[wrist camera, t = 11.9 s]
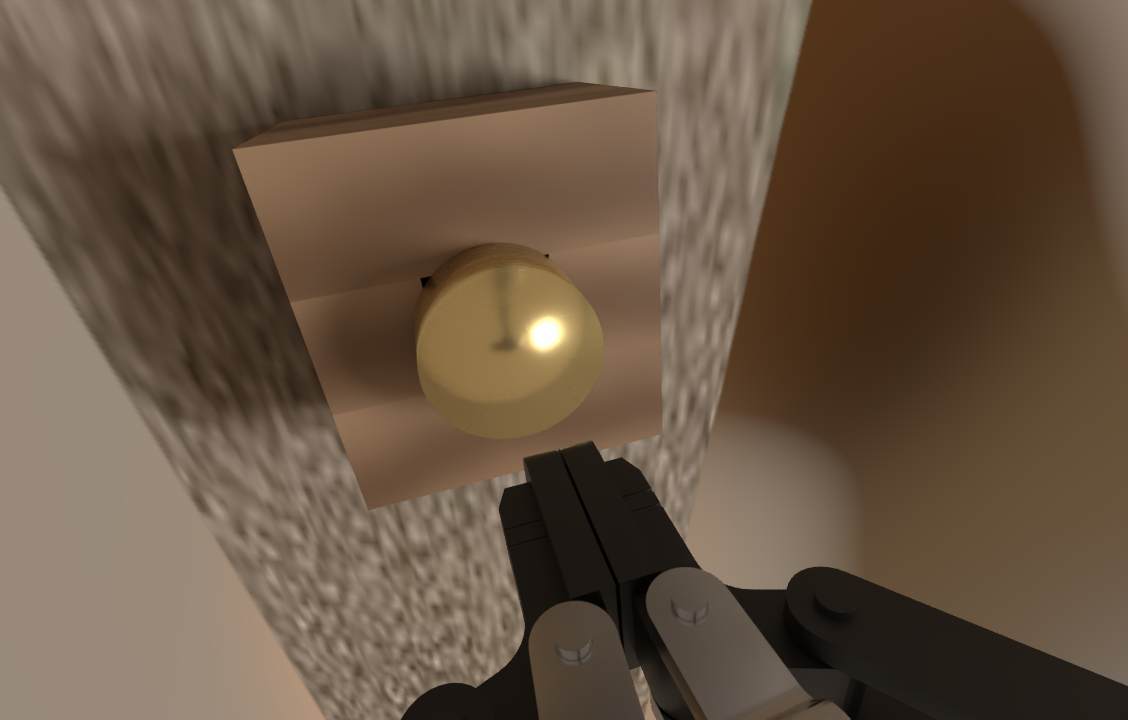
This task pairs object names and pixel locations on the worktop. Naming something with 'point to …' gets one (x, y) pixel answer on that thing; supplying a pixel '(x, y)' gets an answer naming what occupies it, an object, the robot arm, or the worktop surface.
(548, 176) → the block
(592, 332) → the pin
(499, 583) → the worktop surface
